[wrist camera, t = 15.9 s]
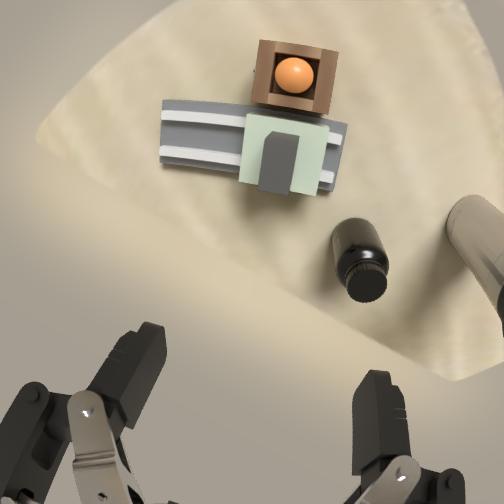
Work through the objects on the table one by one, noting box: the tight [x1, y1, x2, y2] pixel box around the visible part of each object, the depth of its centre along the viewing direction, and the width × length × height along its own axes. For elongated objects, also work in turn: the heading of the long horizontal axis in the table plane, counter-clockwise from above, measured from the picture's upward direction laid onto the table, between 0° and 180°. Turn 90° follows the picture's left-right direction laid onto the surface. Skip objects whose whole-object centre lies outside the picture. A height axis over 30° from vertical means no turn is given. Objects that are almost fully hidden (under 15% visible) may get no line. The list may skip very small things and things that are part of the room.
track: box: [159, 99, 347, 192], centre depth 37 cm, size 24×9×3 cm, turn 83°
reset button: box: [275, 58, 313, 93], centre depth 27 cm, size 4×4×4 cm
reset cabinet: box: [251, 40, 339, 115], centre depth 29 cm, size 9×7×8 cm
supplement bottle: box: [332, 218, 389, 303], centre depth 37 cm, size 7×7×12 cm
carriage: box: [239, 112, 330, 196], centre depth 31 cm, size 9×8×9 cm
